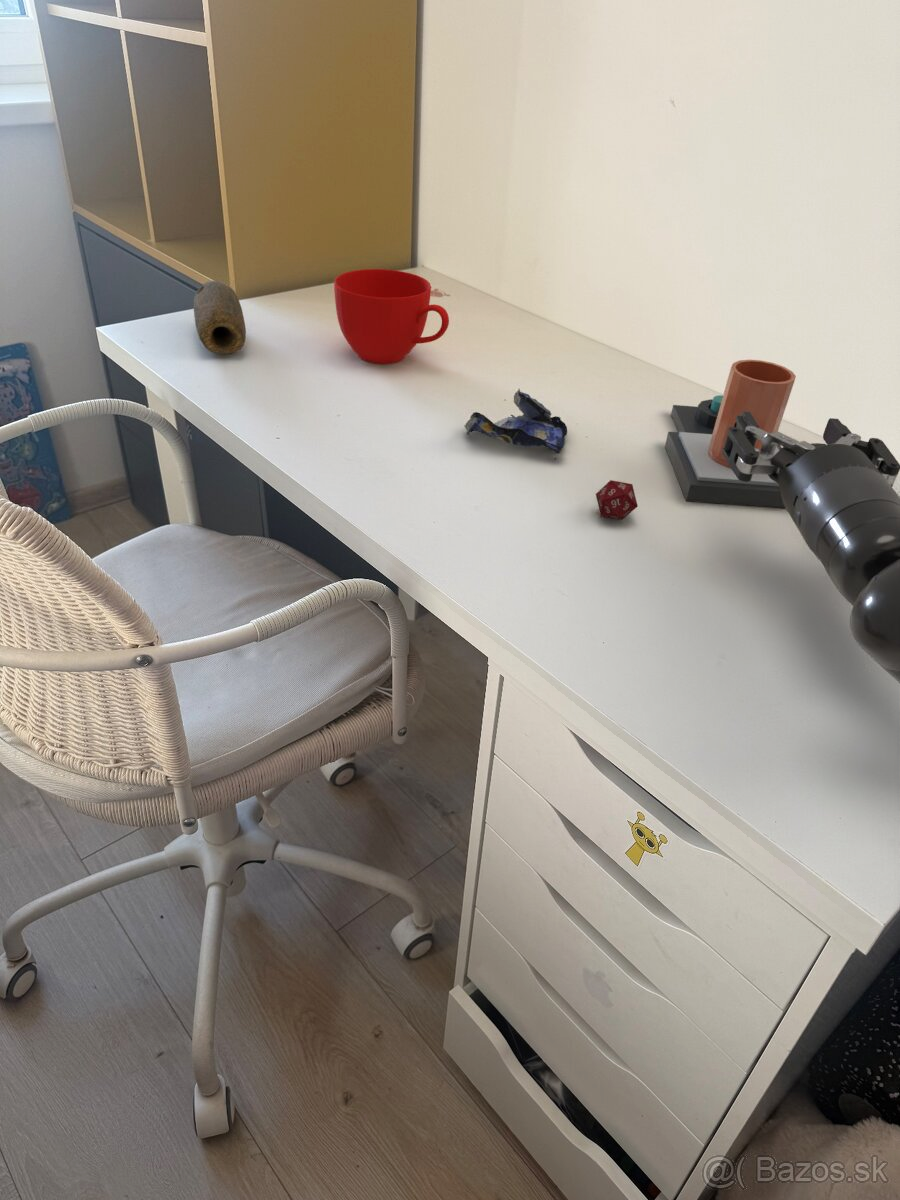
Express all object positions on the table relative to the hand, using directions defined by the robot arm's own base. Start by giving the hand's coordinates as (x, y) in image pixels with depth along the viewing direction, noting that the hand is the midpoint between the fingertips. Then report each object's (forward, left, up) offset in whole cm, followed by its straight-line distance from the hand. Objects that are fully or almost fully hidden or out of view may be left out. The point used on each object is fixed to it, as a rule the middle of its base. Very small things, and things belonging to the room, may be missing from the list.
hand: (785, 423), depth 81 cm
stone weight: (+66, -39, -11) cm, 77 cm away
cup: (0, -9, -8) cm, 12 cm away
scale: (0, -9, -11) cm, 14 cm away
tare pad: (-1, -21, -11) cm, 24 cm away
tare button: (-1, -21, -8) cm, 23 cm away
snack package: (+24, -14, -11) cm, 30 cm away
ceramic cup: (+41, -37, -11) cm, 57 cm away
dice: (+15, +2, -11) cm, 19 cm away
